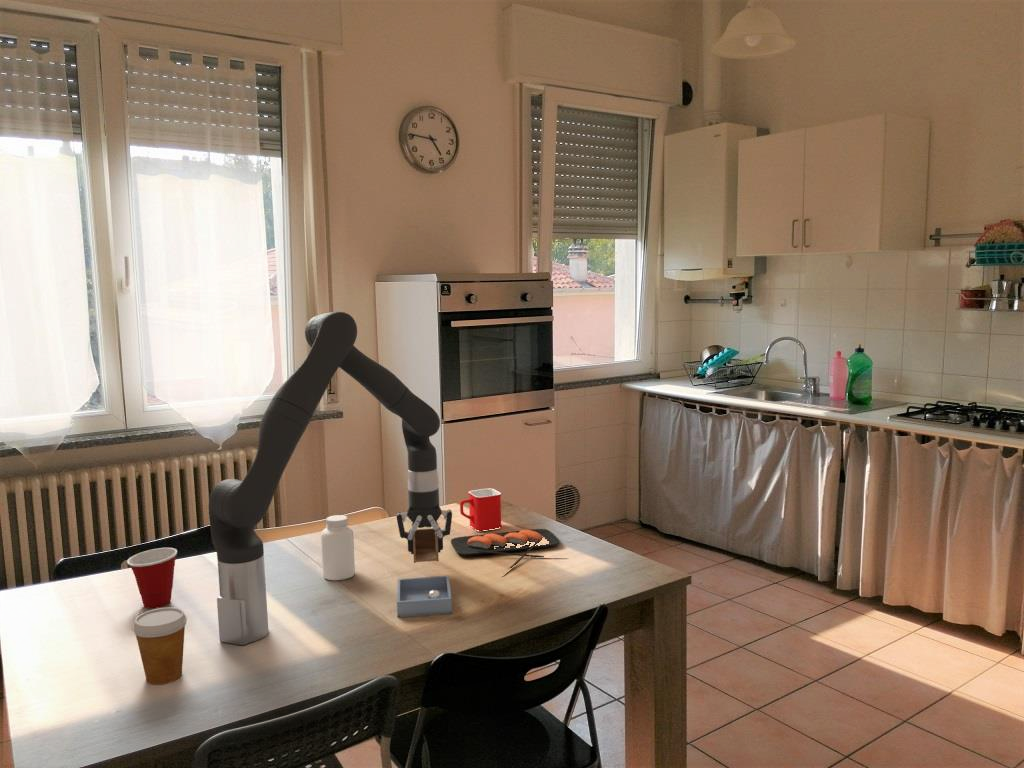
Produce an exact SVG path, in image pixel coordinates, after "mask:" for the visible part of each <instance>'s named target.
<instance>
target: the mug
mask: <svg viewBox="0 0 1024 768" xmlns="http://www.w3.org/2000/svg"><path fill="white" fill-rule="evenodd" d="M467 493H468V497H469V498H468V499H463V500H461V501H460V502H459V511H460V514H461V516H462V517H464V518H466V519H468V520H469V527H470V526H472V527H473V528H474V529H476V530H479V531H483V530H489V529H495V528H499V527H501V528H502V493H501V492H500V491H498V490H496V489H495V488H490V487H489V488H479V489H473V490H469V491H468V492H467ZM465 503H468V507H469V515H468V514H466V513H465V512H464V504H465ZM474 529H473V530H474Z"/></svg>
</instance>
